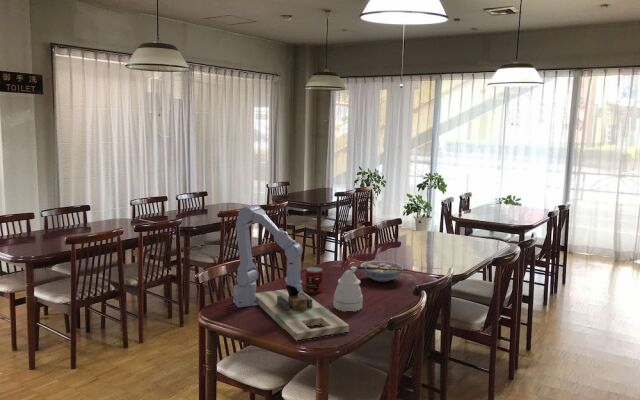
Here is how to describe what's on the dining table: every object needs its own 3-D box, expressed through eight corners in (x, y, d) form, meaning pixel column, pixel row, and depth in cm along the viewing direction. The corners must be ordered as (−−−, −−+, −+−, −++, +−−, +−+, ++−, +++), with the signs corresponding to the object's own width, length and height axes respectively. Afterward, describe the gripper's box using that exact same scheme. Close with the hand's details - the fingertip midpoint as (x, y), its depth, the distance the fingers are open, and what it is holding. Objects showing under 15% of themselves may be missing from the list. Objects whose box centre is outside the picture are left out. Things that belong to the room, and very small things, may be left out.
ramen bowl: (404, 275, 282) (404, 260, 280) (406, 287, 259) (407, 272, 258) (358, 272, 284) (358, 258, 283) (356, 285, 261) (357, 269, 260)
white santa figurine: (360, 301, 237) (362, 263, 234) (363, 311, 224) (365, 271, 221) (332, 301, 236) (333, 263, 234) (334, 311, 224) (335, 271, 221)
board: (296, 341, 191) (296, 324, 190) (253, 299, 236) (253, 285, 235) (348, 332, 201) (349, 316, 200) (297, 293, 245) (297, 280, 245)
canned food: (302, 292, 248) (303, 269, 247) (310, 287, 256) (311, 266, 254) (316, 294, 245) (317, 272, 243) (324, 290, 252) (325, 268, 250)
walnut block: (293, 311, 214) (293, 300, 213) (288, 306, 219) (288, 296, 219) (306, 309, 216) (307, 299, 216) (301, 304, 222) (301, 294, 221)
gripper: (309, 275, 215) (308, 306, 217) (295, 266, 228) (295, 296, 230) (293, 276, 212) (293, 308, 214) (280, 267, 225) (280, 298, 227)
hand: (293, 302), depth 222 cm, fingers closed
